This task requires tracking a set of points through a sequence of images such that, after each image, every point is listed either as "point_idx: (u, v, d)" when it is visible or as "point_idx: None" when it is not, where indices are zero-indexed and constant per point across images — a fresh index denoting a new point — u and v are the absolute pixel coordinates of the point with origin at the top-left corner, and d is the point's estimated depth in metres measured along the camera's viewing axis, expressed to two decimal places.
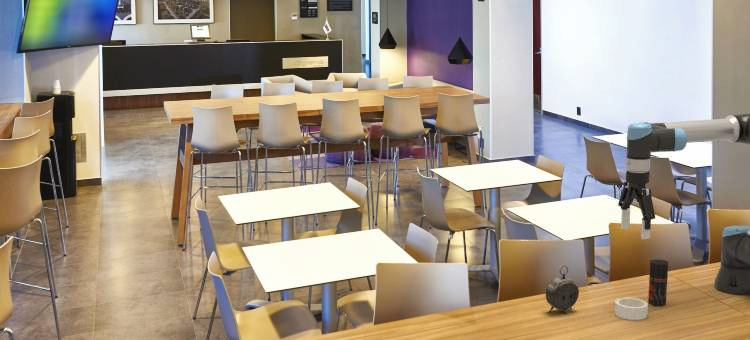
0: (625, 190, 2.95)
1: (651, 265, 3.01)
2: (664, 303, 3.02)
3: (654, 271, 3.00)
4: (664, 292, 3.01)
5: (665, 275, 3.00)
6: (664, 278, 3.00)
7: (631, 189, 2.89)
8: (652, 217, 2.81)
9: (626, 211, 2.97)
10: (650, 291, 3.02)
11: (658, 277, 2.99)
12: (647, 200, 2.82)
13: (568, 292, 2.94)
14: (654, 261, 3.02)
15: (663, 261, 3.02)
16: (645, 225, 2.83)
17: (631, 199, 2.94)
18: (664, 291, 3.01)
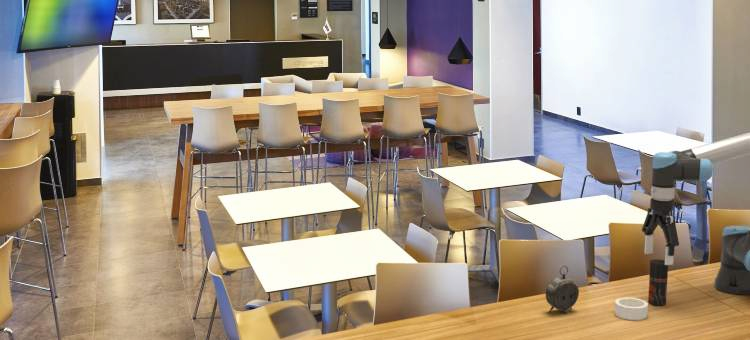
0: (649, 216, 3.04)
1: (651, 265, 3.01)
2: (664, 303, 3.02)
3: (654, 271, 3.00)
4: (664, 292, 3.01)
5: (665, 275, 3.00)
6: (664, 278, 3.00)
7: (655, 216, 2.99)
8: (676, 244, 2.90)
9: (649, 237, 3.06)
10: (650, 291, 3.02)
11: (658, 277, 2.99)
12: (671, 227, 2.91)
13: (568, 292, 2.94)
14: (654, 261, 3.02)
15: (663, 261, 3.02)
16: (669, 251, 2.93)
17: (655, 225, 3.03)
18: (664, 291, 3.01)
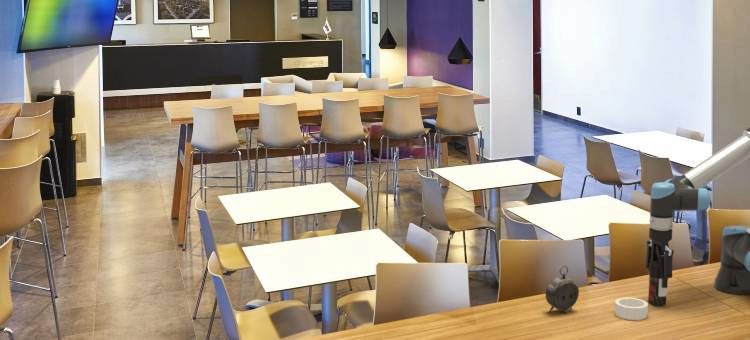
0: (649, 249, 3.05)
1: (651, 265, 3.01)
2: (664, 303, 3.02)
3: (654, 271, 3.00)
4: None
5: None
6: None
7: (654, 245, 3.01)
8: (669, 276, 2.96)
9: None
10: (650, 291, 3.02)
11: (658, 277, 2.99)
12: (667, 261, 2.95)
13: (568, 292, 2.94)
14: (654, 261, 3.02)
15: None
16: (662, 283, 2.98)
17: (656, 258, 3.03)
18: None
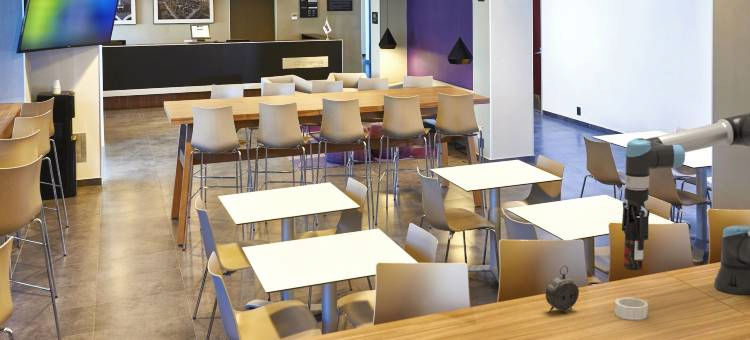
0: (625, 211, 2.92)
1: (626, 227, 2.87)
2: (640, 267, 2.88)
3: (630, 233, 2.86)
4: None
5: None
6: None
7: (630, 206, 2.87)
8: (645, 238, 2.82)
9: None
10: (625, 254, 2.89)
11: (634, 239, 2.86)
12: (643, 222, 2.81)
13: (568, 292, 2.94)
14: (630, 223, 2.88)
15: None
16: (638, 246, 2.85)
17: (632, 219, 2.90)
18: None
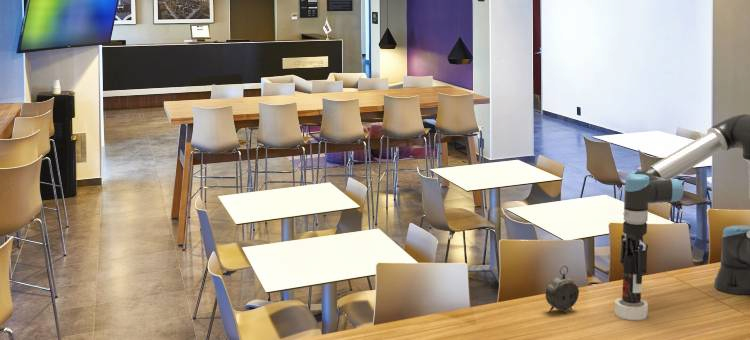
0: (624, 244, 2.94)
1: (625, 260, 2.89)
2: (638, 300, 2.90)
3: (628, 266, 2.88)
4: None
5: None
6: None
7: (628, 239, 2.89)
8: (643, 272, 2.84)
9: None
10: (624, 287, 2.91)
11: (632, 273, 2.88)
12: (642, 256, 2.83)
13: (568, 292, 2.94)
14: (628, 256, 2.90)
15: None
16: (636, 279, 2.87)
17: (631, 253, 2.92)
18: None
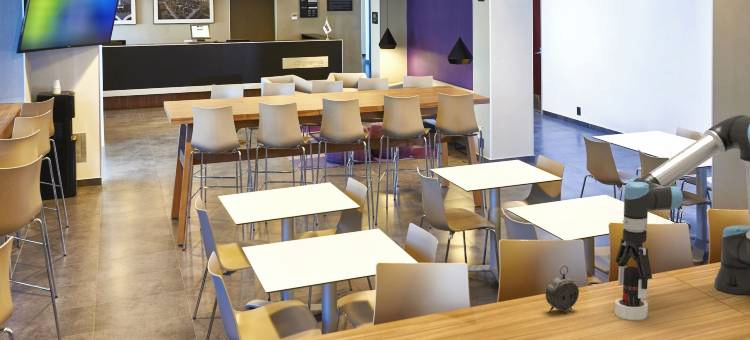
0: (622, 247, 2.95)
1: (625, 273, 2.90)
2: None
3: (628, 279, 2.89)
4: (639, 300, 2.90)
5: None
6: None
7: (628, 247, 2.90)
8: (649, 277, 2.81)
9: (623, 268, 2.97)
10: (624, 299, 2.92)
11: (632, 285, 2.89)
12: (644, 260, 2.82)
13: (568, 292, 2.94)
14: (628, 268, 2.91)
15: (637, 268, 2.91)
16: (642, 284, 2.84)
17: (628, 256, 2.94)
18: (638, 300, 2.90)
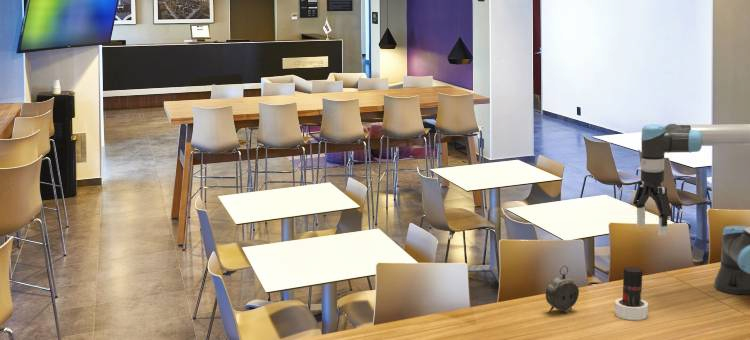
0: (640, 189, 3.07)
1: (625, 273, 2.90)
2: None
3: (628, 279, 2.89)
4: (639, 300, 2.90)
5: (639, 283, 2.89)
6: (638, 286, 2.89)
7: (646, 188, 3.01)
8: (669, 214, 2.93)
9: (641, 209, 3.09)
10: (624, 299, 2.92)
11: (632, 285, 2.89)
12: (663, 198, 2.94)
13: (568, 292, 2.94)
14: (628, 268, 2.91)
15: (637, 268, 2.91)
16: (662, 222, 2.96)
17: (646, 197, 3.06)
18: (638, 300, 2.90)
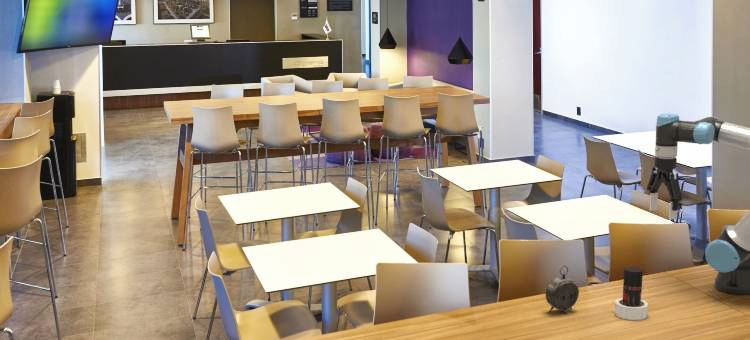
0: (653, 175, 3.22)
1: (625, 273, 2.90)
2: None
3: (628, 279, 2.89)
4: (639, 300, 2.90)
5: (639, 283, 2.89)
6: (638, 286, 2.89)
7: (659, 174, 3.16)
8: (679, 199, 3.07)
9: (654, 194, 3.24)
10: (624, 299, 2.92)
11: (632, 285, 2.89)
12: (674, 184, 3.09)
13: (568, 292, 2.94)
14: (628, 268, 2.91)
15: (637, 268, 2.91)
16: (672, 206, 3.10)
17: (659, 183, 3.20)
18: (638, 300, 2.90)
